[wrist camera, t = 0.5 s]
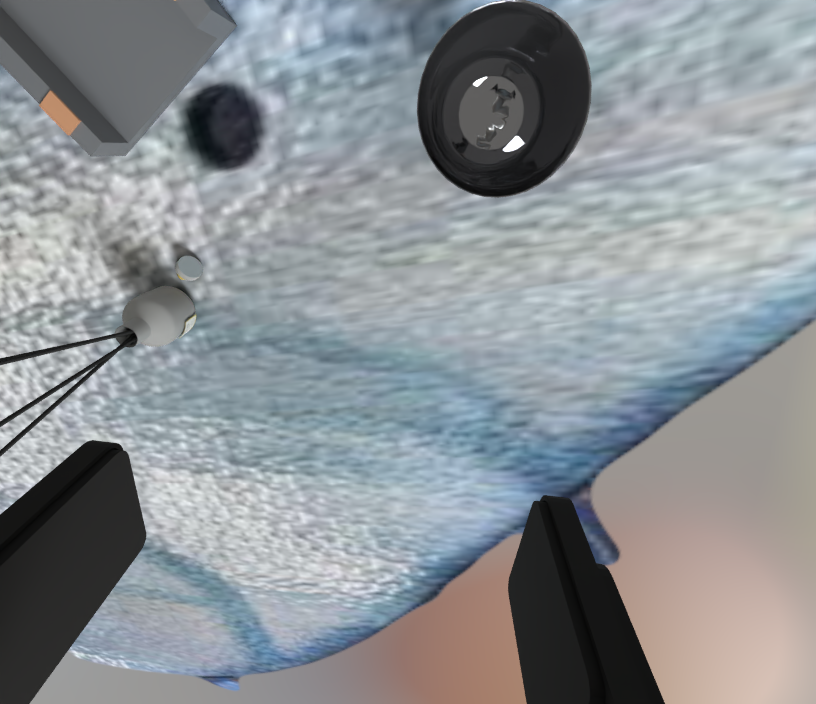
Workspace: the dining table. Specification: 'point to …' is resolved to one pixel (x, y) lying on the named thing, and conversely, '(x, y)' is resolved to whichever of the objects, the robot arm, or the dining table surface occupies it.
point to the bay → (108, 61)
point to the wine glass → (504, 98)
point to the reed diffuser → (128, 332)
